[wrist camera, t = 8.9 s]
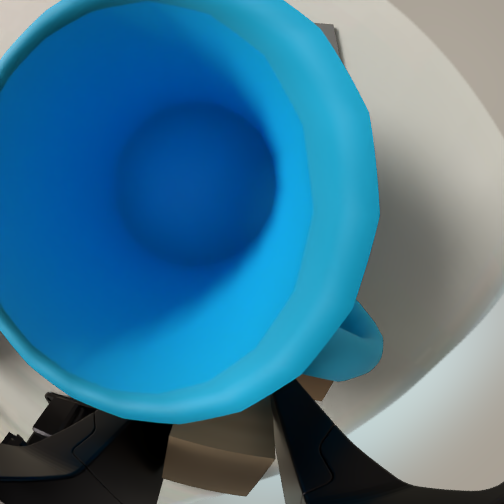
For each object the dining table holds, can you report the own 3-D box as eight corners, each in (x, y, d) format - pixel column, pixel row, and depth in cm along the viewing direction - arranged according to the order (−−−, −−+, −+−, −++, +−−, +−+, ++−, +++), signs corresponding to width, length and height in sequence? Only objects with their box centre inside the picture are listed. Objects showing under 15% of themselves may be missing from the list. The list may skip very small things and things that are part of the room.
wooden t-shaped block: (306, 377, 12) (333, 500, 6) (145, 333, 12) (72, 439, 5) (337, 313, 12) (403, 430, 5) (157, 261, 11) (54, 345, 4)
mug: (85, 207, 11) (-55, 256, 4) (181, 59, 10) (87, -54, 2) (282, 351, 13) (297, 501, 5) (396, 224, 11) (535, 296, 3)
